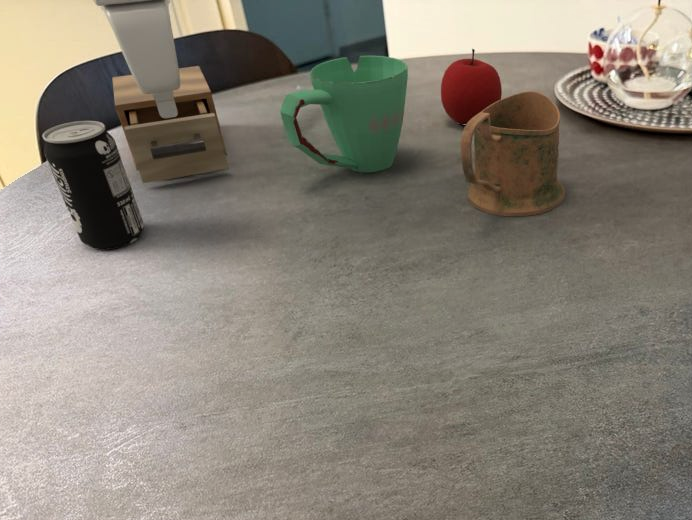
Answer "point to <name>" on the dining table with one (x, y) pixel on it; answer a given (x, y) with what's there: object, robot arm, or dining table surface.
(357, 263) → the dining table surface
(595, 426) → the dining table surface
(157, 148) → the drawer
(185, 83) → the cabinet
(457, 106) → the apple
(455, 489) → the dining table surface
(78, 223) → the beverage can
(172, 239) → the dining table surface
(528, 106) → the mug
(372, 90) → the mug
